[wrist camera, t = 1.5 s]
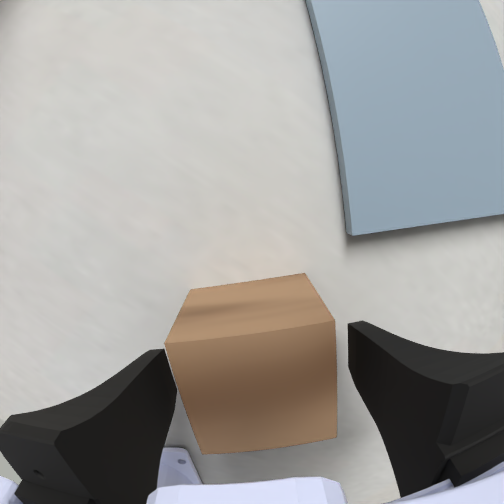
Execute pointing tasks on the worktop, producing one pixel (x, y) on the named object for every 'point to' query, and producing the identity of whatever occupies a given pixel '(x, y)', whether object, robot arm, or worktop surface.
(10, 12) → the worktop surface
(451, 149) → the slate board
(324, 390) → the walnut cube
